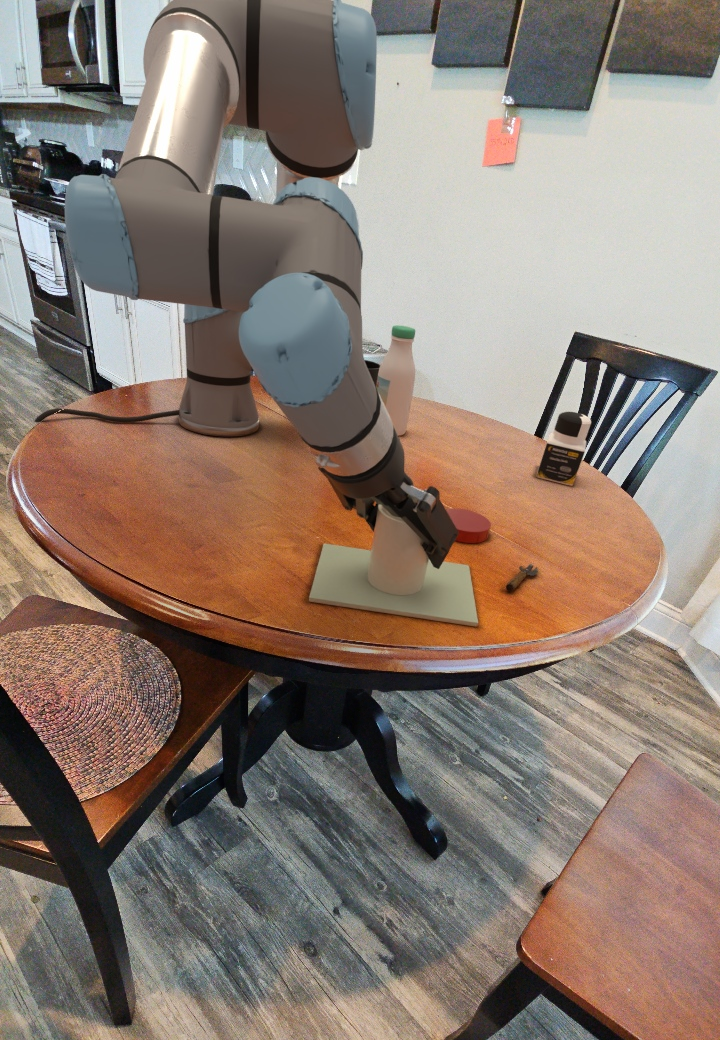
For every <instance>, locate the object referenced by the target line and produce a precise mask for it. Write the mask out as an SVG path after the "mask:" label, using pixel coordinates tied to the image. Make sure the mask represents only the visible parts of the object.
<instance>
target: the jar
mask: <svg viewBox="0 0 720 1040" xmlns="http://www.w3.org/2000/svg"><path fill="white" fill-rule="evenodd" d="M419 489H420V490H422V491H424V489H421V488H419ZM423 542H424V541H423V540H422V539H421V538H420V537H419V536H418V535H417V534H416V533H415V532H414V531H413V530H412V529H411V528H410V527H409V526H408V525H407V524H406V523H405V522H404V521H403V520H402V519H401V518H400V517H395V516H392V515H391V514H390V513H389V512H388V511H387V510H386V509H385V508H384V507H383V506H382V505H380V504H379V505H378V509H377V516H376V522H375V528H374V532H373V535H372V542H371V547H370V550H371V553H370V559H369V566H368V572H367V579H368V581H369V583H370V584H371V585H372V586H373V587H375V588H376V589H378V590H380V591H382V592H385V593H388V594H393V595H411V594H415V593H417V592H419V591H420V590H421V589H422V588H423V584H424V580H425V576H426V571H427V567H428V562H429V558H428V556H427V554H426V552H425V551H424V548H423V547H422V544H423Z"/></svg>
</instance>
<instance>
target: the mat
mask: <svg viewBox="0 0 720 1040" xmlns="http://www.w3.org/2000/svg"><path fill="white" fill-rule="evenodd" d="M370 553H371V549H370V550H369V549H364V548H358V547H351V546H345V545H338V544H331V543H323V544H322V548H321V552H320V556H319V560H318V562H317V566H316V570H315V575H314V578H313V581H312V586H311V589H310V593H309V596H308V602H310V603H316V604H323V605H329V606H337V607H343V608H348V609H349V608H350V609H355V610H362V611H370V612H376V613H383V614H384V613H385V614H390V615H397V616H402V617H410V618H416V619H422V620H430V621H436V622H442V623H449V624H456V625H463V626H469V627H478V626H479V619H478V612H477V607H476V606H477V605H476V600H475V593H474V588H473V583H472V576H471V569H470V565H469V564H463V563H456V562H450V561H445V560H444V561H443V563H442V565H441V566H440V568H439V569H437V568H435V567H433V565H432V563H431V561H430V560H429V562H428V567H427V571H426V576H425V580H424V584H423V588H422V589H421V590H420V591H419V592H417V593H415V594H411V595H393V594H388V593H385V592H382V591H380V590H378V589H376V588H375V587H373V586H372V585H371V584H370V583H369V581H368V579H367V572H368V566H369V559H370Z"/></svg>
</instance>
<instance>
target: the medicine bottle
mask: <svg viewBox="0 0 720 1040" xmlns="http://www.w3.org/2000/svg"><path fill="white" fill-rule="evenodd" d="M591 425H592V419H591V418H589V417H588V416H587V415H585V414H583V413H580V412H575V411H564V412H560V413H559V414H558V417H557V420H556V423H555V425H554V428H553V432H550V433H549V435H548V438H547V440H546V444H545V447H544V450H543V453H542V456H541V460H540V462H539V465H538V469H537V472H536V475H535V476H536V478H538V479H541V480H545V481H550V482H554V483H558V484H562V485H565V486H570V487H572V486H574V484H575V481H576V478H577V475H578V472H579V469H580V466H581V464H582V462H583V459H584V456H585V453H586V449H587V448H586V447H587V440H586V438H587V436H588V433H589V430H590V427H591Z"/></svg>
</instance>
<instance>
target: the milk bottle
mask: <svg viewBox="0 0 720 1040" xmlns="http://www.w3.org/2000/svg"><path fill="white" fill-rule="evenodd" d="M415 337H416V329H415V328H414V327H410V326H406V325H400V324H398V325H393V326H392V328H391V336H390V339H391V343H390V345H389V348H388V350H387V352H386V354H385V355H384V357H383V359H382V360H381V363H380V368H379V372H378V378H377V384H376V389H377V390H378V392H379V394H380V397H381V399H382V401H383V403H384V405H385V407H386V409H387V411H388V413H389V416H390V418H391V421H392V425H393V426H394V428H395V431H396V433H397V435H398V437H400V436H403V435H405V433H406V432H407V428H408V423H409V418H410V417H409V416H410V412H411V405H412V401H413V393H414V388H415V381H416V364H415V360H414V356H413V342H415Z"/></svg>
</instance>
